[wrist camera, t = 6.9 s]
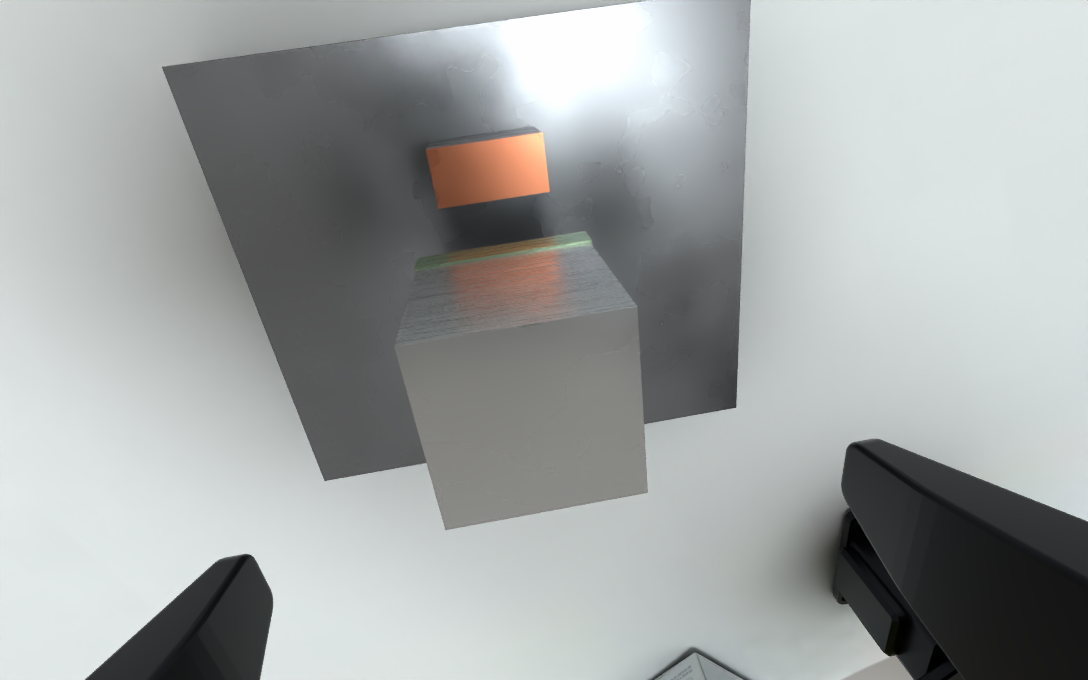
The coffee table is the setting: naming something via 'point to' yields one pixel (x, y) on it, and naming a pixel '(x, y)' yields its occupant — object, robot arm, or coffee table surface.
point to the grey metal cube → (524, 379)
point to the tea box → (697, 670)
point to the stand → (480, 191)
